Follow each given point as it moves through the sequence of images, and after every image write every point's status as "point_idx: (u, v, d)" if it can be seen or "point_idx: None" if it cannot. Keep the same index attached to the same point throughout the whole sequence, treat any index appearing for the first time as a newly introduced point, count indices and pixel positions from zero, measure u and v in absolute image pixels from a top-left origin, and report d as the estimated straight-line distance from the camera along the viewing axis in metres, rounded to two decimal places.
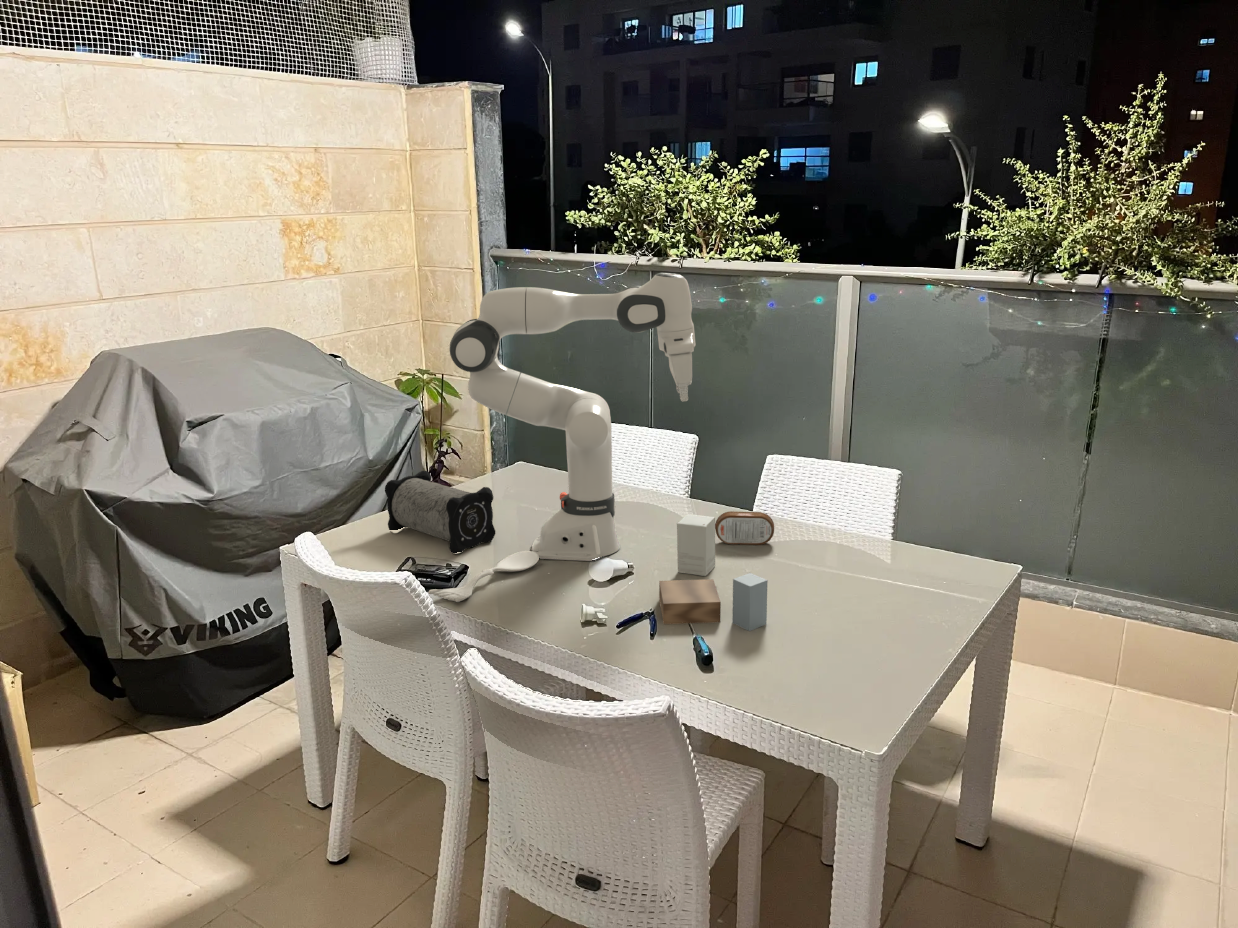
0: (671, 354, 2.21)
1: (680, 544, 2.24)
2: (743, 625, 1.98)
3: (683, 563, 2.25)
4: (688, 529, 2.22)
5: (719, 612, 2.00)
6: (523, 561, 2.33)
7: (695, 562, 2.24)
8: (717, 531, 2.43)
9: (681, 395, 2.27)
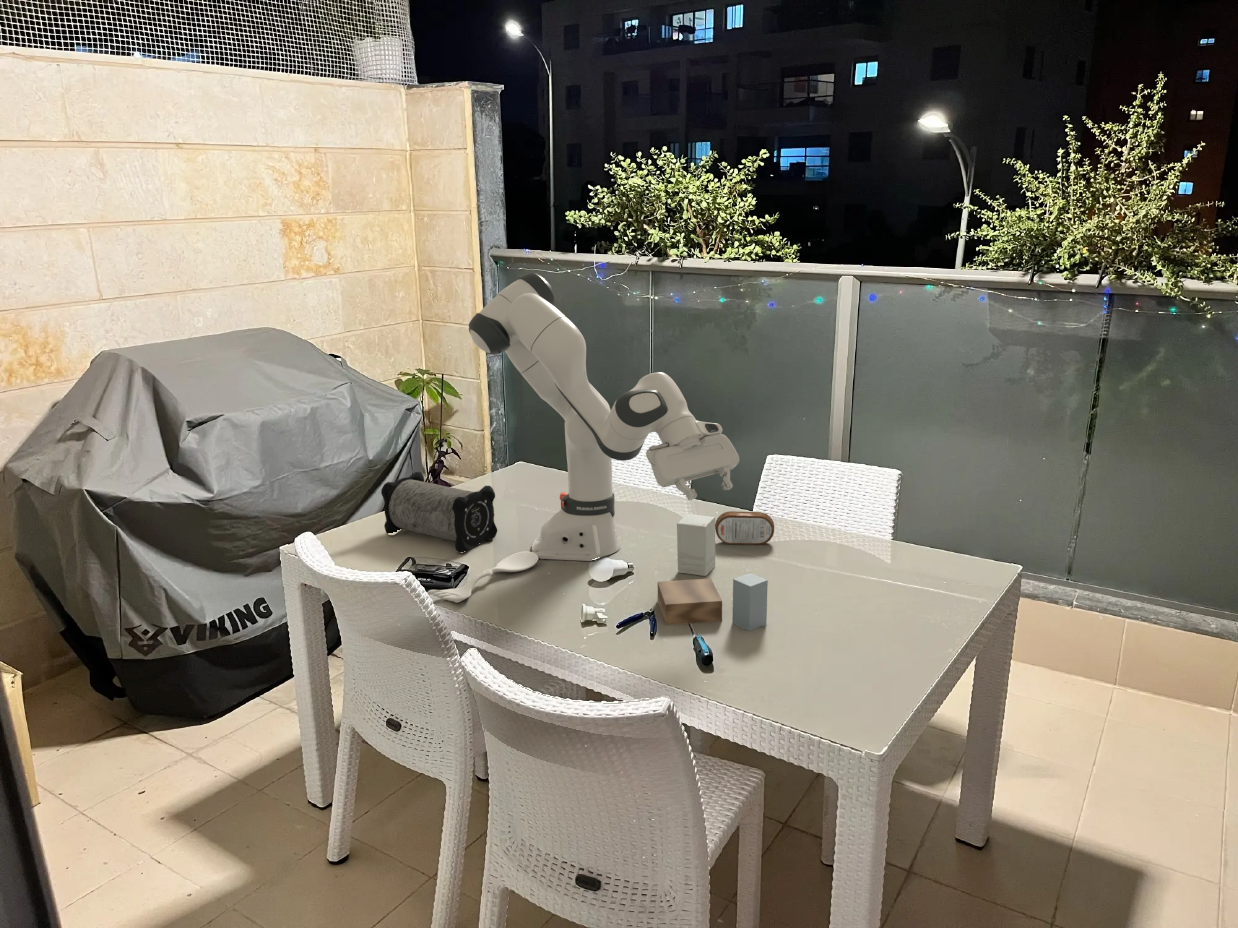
0: (720, 433, 2.08)
1: (680, 544, 2.24)
2: (743, 625, 1.98)
3: (683, 563, 2.25)
4: (688, 529, 2.22)
5: (721, 611, 2.01)
6: (522, 562, 2.32)
7: (695, 561, 2.24)
8: (717, 531, 2.43)
9: None
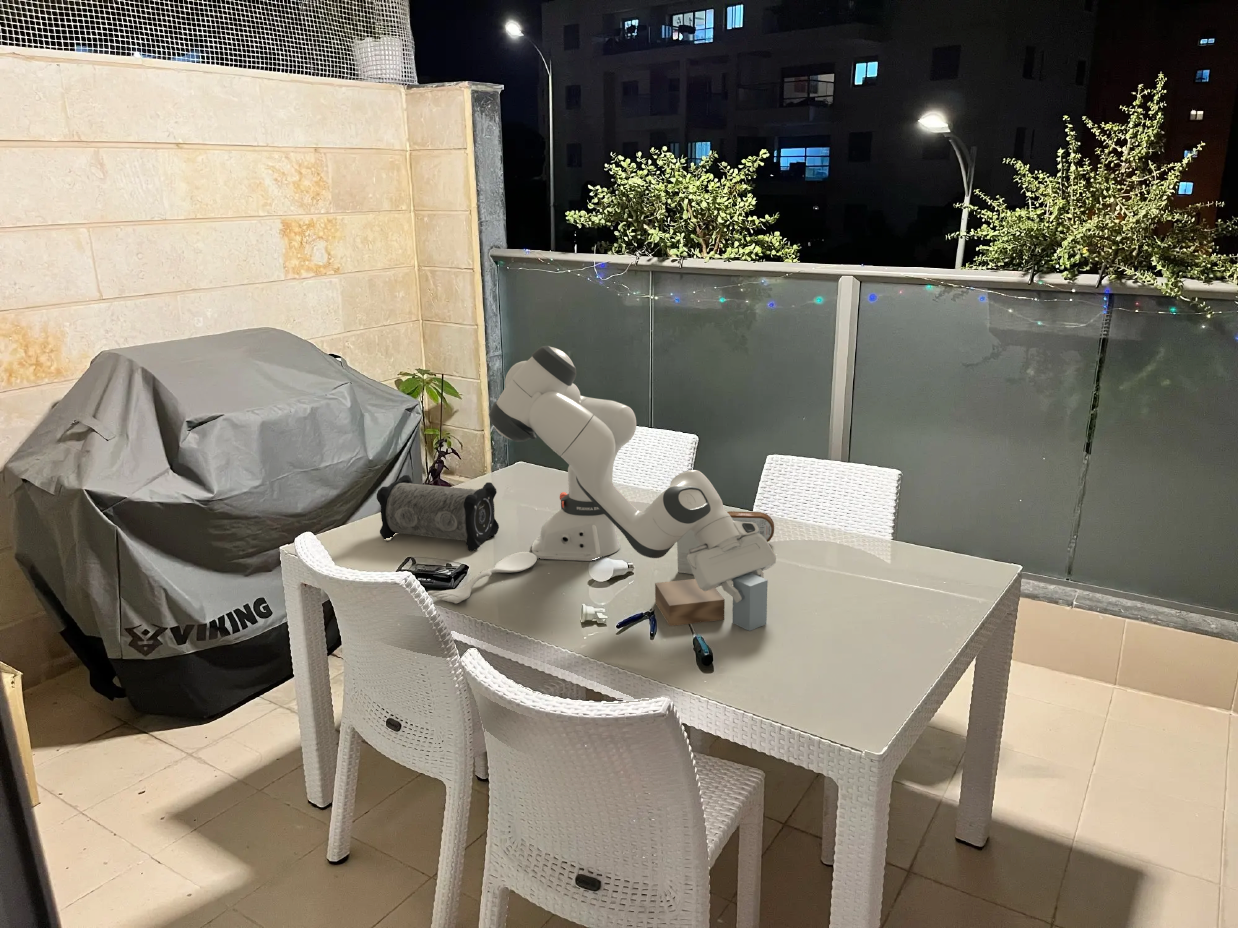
0: None
1: (680, 544, 2.24)
2: (743, 625, 1.98)
3: (683, 563, 2.25)
4: None
5: (723, 610, 2.01)
6: (521, 562, 2.32)
7: None
8: None
9: None
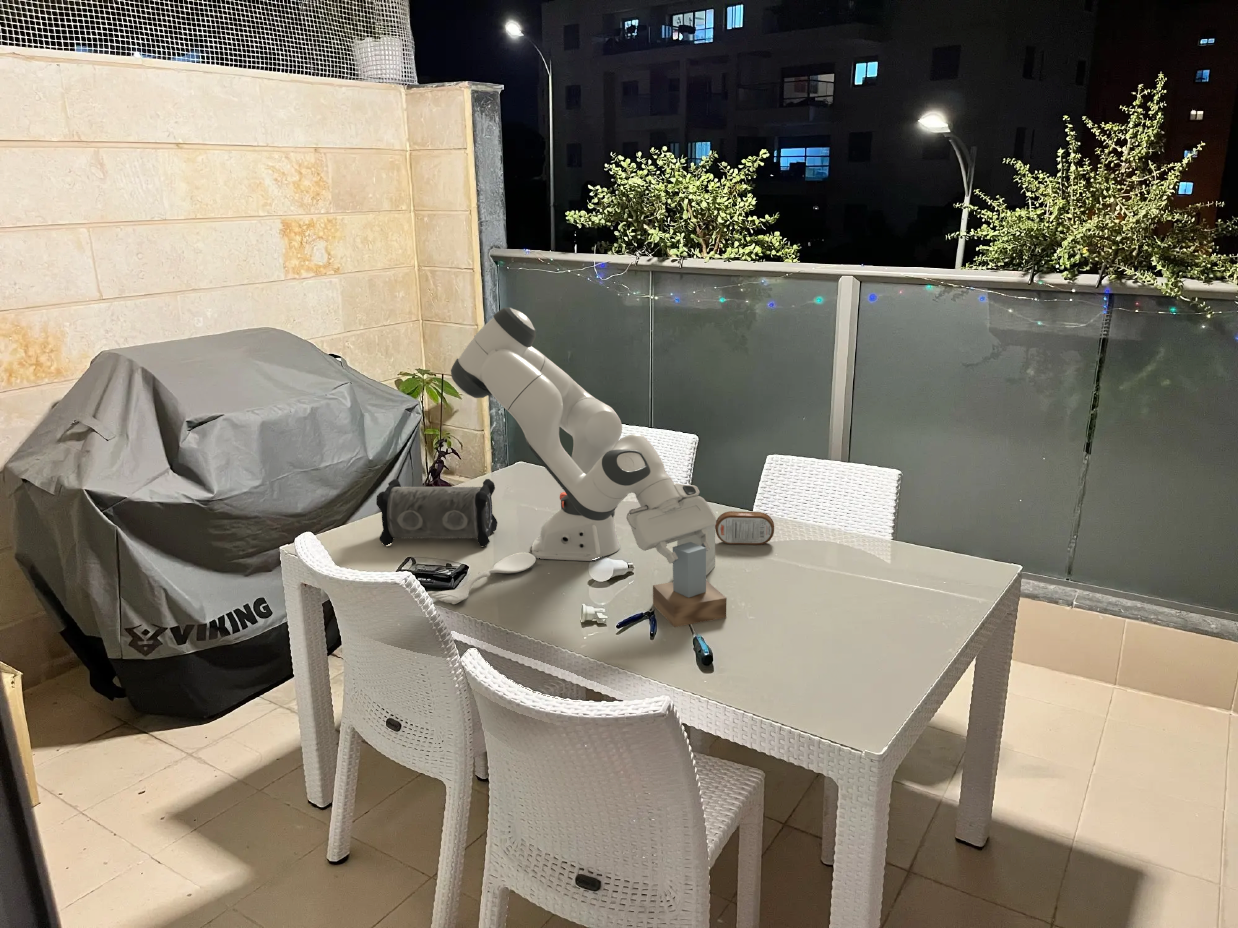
0: (697, 494, 2.10)
1: (680, 544, 2.24)
2: (683, 592, 2.03)
3: None
4: None
5: (725, 608, 2.02)
6: (519, 563, 2.32)
7: None
8: (717, 531, 2.43)
9: None
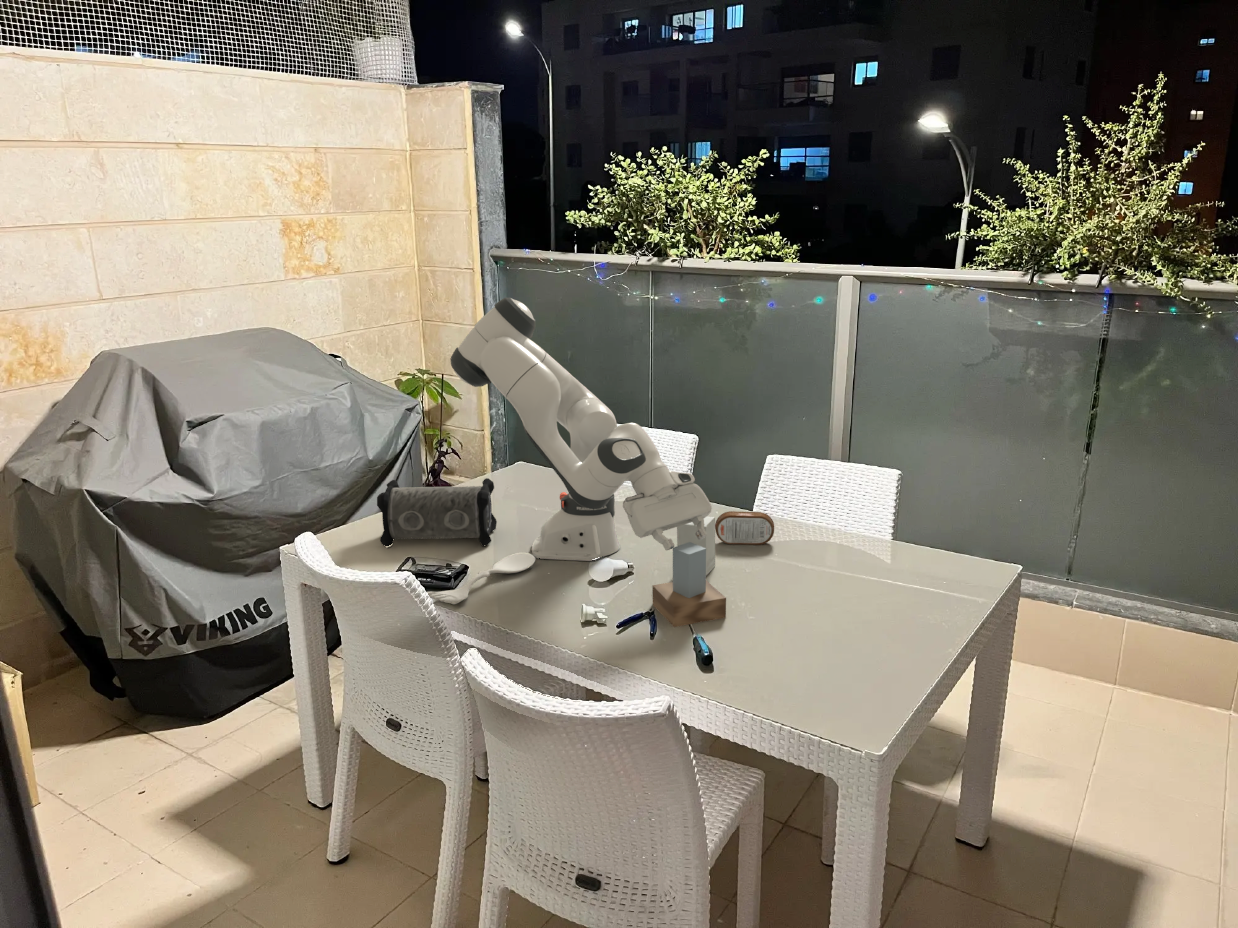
0: None
1: (680, 544, 2.24)
2: (683, 592, 2.03)
3: None
4: (688, 529, 2.22)
5: (725, 608, 2.02)
6: (519, 563, 2.32)
7: None
8: (717, 531, 2.43)
9: None
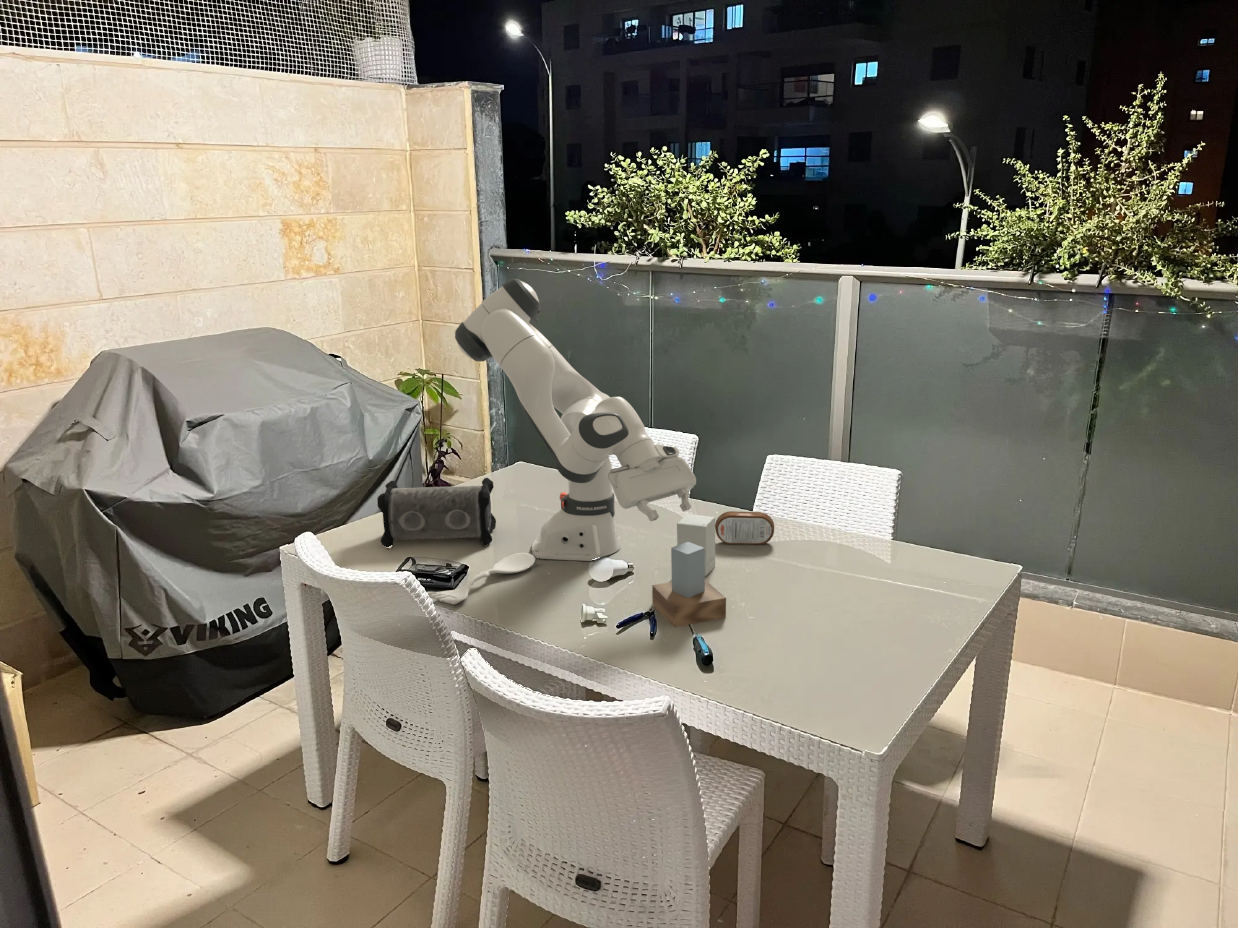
0: (677, 455, 2.14)
1: None
2: (682, 592, 2.03)
3: None
4: (688, 529, 2.22)
5: (725, 608, 2.02)
6: (519, 563, 2.32)
7: None
8: (717, 531, 2.43)
9: None
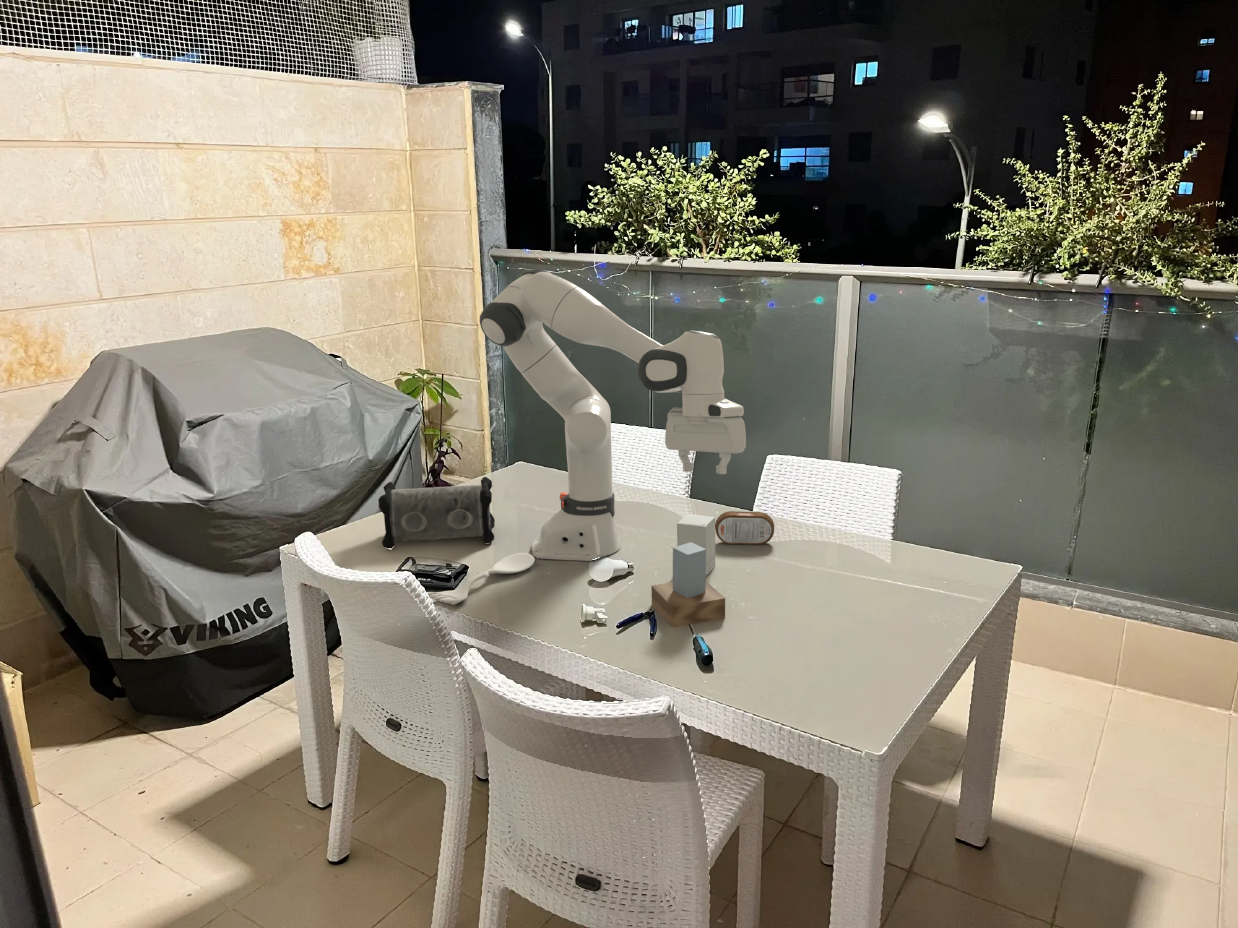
0: (727, 416, 1.94)
1: (680, 544, 2.24)
2: (682, 593, 2.03)
3: None
4: (688, 529, 2.22)
5: (724, 608, 2.02)
6: (518, 563, 2.31)
7: None
8: (717, 531, 2.43)
9: (722, 467, 1.99)
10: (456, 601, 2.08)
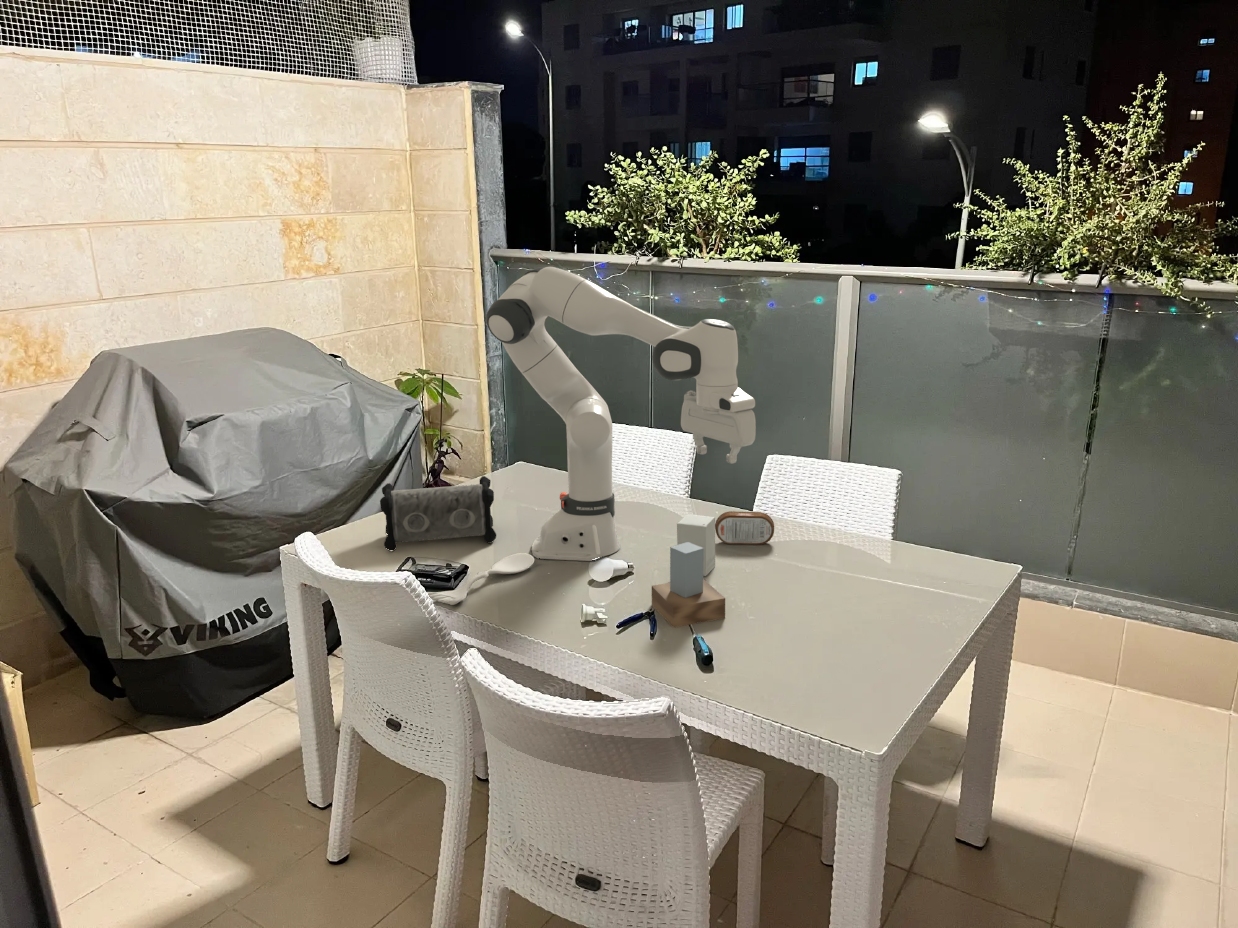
0: (736, 411, 1.97)
1: None
2: (680, 592, 2.03)
3: None
4: (688, 529, 2.22)
5: (724, 608, 2.02)
6: (518, 563, 2.31)
7: None
8: (717, 531, 2.43)
9: (731, 456, 2.03)
10: (455, 601, 2.08)
